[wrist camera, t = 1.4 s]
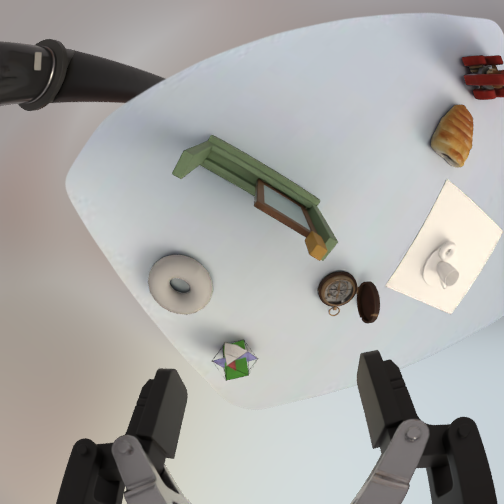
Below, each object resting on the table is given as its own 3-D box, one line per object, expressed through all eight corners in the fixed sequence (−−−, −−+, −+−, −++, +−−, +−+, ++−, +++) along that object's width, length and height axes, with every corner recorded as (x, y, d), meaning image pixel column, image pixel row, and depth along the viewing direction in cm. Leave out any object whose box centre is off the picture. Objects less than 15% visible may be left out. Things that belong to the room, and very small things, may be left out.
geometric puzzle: (265, 368, 47) (253, 381, 40) (232, 376, 49) (215, 389, 41) (253, 332, 49) (239, 339, 41) (219, 341, 50) (201, 349, 43)
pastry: (445, 94, 27) (460, 94, 24) (473, 119, 28) (488, 122, 25) (425, 147, 31) (440, 151, 28) (454, 169, 32) (469, 175, 29)
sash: (254, 184, 34) (250, 220, 22) (259, 176, 33) (258, 208, 22) (301, 212, 35) (321, 262, 23) (306, 205, 35) (329, 251, 23)
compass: (319, 270, 40) (329, 299, 34) (368, 270, 40) (385, 297, 34) (313, 312, 44) (320, 344, 37) (358, 311, 44) (371, 341, 37)
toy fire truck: (449, 58, 24) (494, 51, 15) (493, 56, 22) (534, 54, 12) (463, 101, 27) (509, 105, 18) (505, 94, 24) (547, 99, 15)
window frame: (196, 161, 34) (167, 182, 23) (212, 134, 32) (188, 141, 21) (302, 222, 37) (318, 267, 26) (319, 199, 35) (343, 235, 25)
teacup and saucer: (441, 233, 37) (454, 244, 33) (466, 250, 38) (478, 261, 34) (413, 277, 40) (424, 291, 37) (440, 290, 42) (450, 303, 38)
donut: (145, 288, 43) (200, 315, 45) (138, 301, 40) (196, 328, 42) (163, 239, 39) (225, 269, 41) (155, 249, 36) (222, 281, 37)
